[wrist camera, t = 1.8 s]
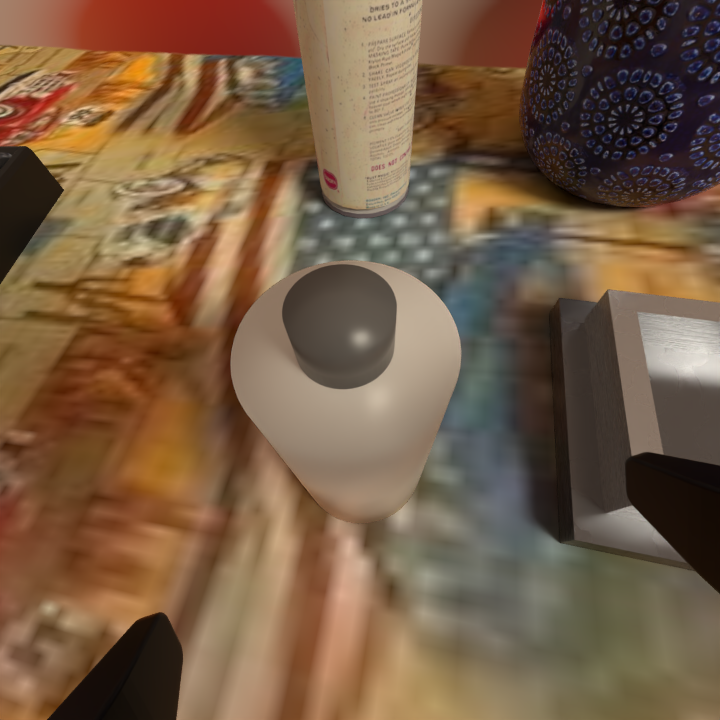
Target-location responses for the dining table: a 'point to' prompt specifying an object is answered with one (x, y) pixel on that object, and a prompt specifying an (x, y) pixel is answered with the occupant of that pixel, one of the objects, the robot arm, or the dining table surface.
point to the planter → (625, 99)
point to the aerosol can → (361, 98)
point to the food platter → (22, 201)
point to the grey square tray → (629, 408)
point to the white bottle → (349, 381)
